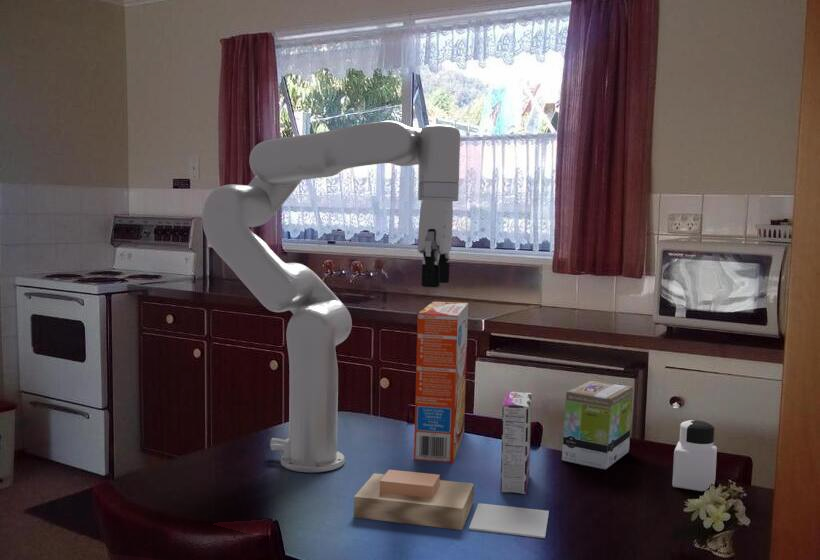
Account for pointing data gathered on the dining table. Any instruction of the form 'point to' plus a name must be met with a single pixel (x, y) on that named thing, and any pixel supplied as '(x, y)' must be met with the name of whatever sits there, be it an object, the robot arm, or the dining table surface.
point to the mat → (510, 520)
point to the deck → (416, 505)
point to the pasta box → (440, 381)
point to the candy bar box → (515, 442)
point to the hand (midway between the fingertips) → (435, 284)
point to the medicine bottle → (695, 456)
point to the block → (410, 483)
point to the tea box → (597, 424)
